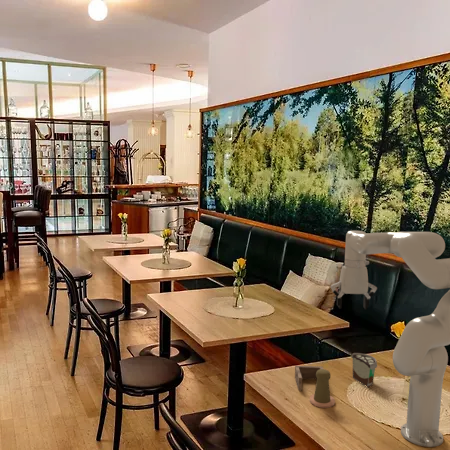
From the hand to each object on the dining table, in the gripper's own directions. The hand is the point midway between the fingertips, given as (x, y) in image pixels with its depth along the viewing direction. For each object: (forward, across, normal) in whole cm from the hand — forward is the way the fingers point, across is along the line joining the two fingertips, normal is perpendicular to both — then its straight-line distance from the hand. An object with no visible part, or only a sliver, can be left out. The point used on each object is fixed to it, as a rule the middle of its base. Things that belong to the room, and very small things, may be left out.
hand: (352, 307), depth 181 cm
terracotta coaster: (+32, +12, +11) cm, 36 cm away
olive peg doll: (+32, +12, +11) cm, 36 cm away
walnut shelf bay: (+32, +14, -3) cm, 35 cm away
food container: (+32, -9, -7) cm, 34 cm away
